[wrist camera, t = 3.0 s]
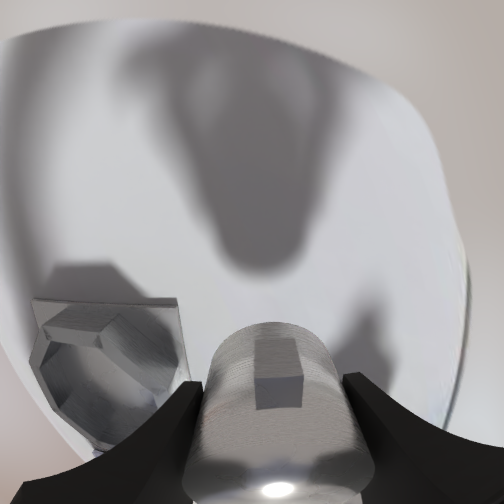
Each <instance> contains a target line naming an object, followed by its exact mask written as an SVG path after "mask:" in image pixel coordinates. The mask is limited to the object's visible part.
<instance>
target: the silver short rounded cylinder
mask: <svg viewBox="0 0 504 504" xmlns="http://www.w3.org/2000/svg"><path fill="white" fill-rule="evenodd" d="M374 471H375V466H374V462H373V459H372V457H371V454H370V452H369V449H368V446H367V444H366V441H365V439H364V436H363V434H362V431H361V429H360V426H359V424H358V421H357V419H356V416H355V414H354V411H353V409H352V407H351V404H350V402H349V399H348V397H347V394H346V392H345V390H344V387H343V385H342V382H341V380H340V378H339V375H338V373H337V371H336V368H335V366H334V364H333V361H332V359H331V357H330V354H329V352H328V350H327V348H326V346H325V345H324V343H323V342H322V341H321V340H320V339H319V338H318V337H317V336H316V335H315V334H313V333H312V332H310V331H308V330H307V329H305V328H302V327H300V326H297V325H293V324H289V323H282V322H266V323H259V324H254V325H251V326H248V327H245V328H243V329H241V330H239V331H237V332H235V333H233V334H232V335H230V336H229V337H228V338H227V339H225V340H224V341H223V342H222V343H221V345H220V346H219V347H218V349H217V350H216V352H215V354H214V356H213V359H212V362H211V366H210V370H209V374H208V378H207V382H206V386H205V390H204V393H203V397H202V401H201V405H200V409H199V413H198V417H197V421H196V425H195V430H194V434H193V438H192V442H191V446H190V450H189V454H188V458H187V462H186V466H185V471H184V475H183V479H182V486H183V488H184V491H185V492H186V494H187V495H188V496H189V497H190V498H191V499H192V500H193V501H195V502H196V503H197V504H343V503H345V502H347V501H348V500H350V499H352V498H353V497H354V496H356V495H357V494H359V493H360V492H361V491H362V490H363V489H364V488H365V487H366V486H367V485H368V484H369V482H370V481H371V479H372V477H373V475H374Z"/></svg>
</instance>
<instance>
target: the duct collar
mask: <svg viewBox="0 0 504 504" xmlns="http://www.w3.org/2000/svg"><path fill="white" fill-rule="evenodd" d="M31 304H32V308H33V311H34V315H35V318H36V321H37V324H38V328H39V333H38V336H37V339H36V341H35V344H34V347H33V350H32V353H31V356H30V359H29V363H30V366H31V368H32V370H33V373H34V375H35V377H36V379H37V381H38V383H39V385H40V387H41V389H42V391H43V393H44V395H45V397H46V399H47V401H48V403H49V405H50V406H51V408H52V410H53V411H54V412H55V413H56V414H58V415H59V416H60V417H61V418H62V419H63V420H64V421H66V422H67V423H68V424H69V425H70V426H72V427H73V428H74V429H75V430H77V431H78V432H79V433H80V434H82V435H83V436H84V437H86V438H87V439H88V440H90V441H91V442H92V443H94V444H95V445H97V446H98V447H100V448H103V449H107V450H110V449H111V448H113V447H114V446H116V445H117V444H119V443H120V442H122V441H123V440H124V439H126V438H127V437H128V436H129V435H131V434H132V433H133V432H134V431H135V430H136V429H138V428H139V427H140V426H141V425H142V424H143V423H144V422H146V421H147V420H148V419H149V418H150V417H151V416H152V415H153V414H154V413H155V412H156V411H157V410H158V409H159V408H160V407H161V406H162V405H163V404H164V403H165V402H166V400H167V399H168V398H169V397H170V396H171V395H172V394H173V393H174V392H175V390H176V389H177V388H178V387H179V386H180V385H181V384H182V383H183V382H184V381H191V378H190V373H189V368H188V363H187V358H186V352H185V347H184V341H183V336H182V330H181V324H180V317H179V311H178V305H130V304H104V303H84V302H69V301H55V300H43V299H32V300H31Z"/></svg>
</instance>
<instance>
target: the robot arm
mask: <svg viewBox="0 0 504 504" xmlns="http://www.w3.org/2000/svg"><path fill="white" fill-rule="evenodd" d="M342 385H343V387H344V390H345V392H346V394H347V397H348V399H349V402H350V404H351V407H352V409H353V411H354V414H355V416H356V419H357V421H358V424H359V426H360V429H361V431H362V434H363V436H364V439H365V441H366V444H367V446H368V449H369V452H370V454H371V457H372V459H373V462H374V466H375V471H374V475H373V477H372V479H371V481H370V482H369V484H368V485H367V486H366V487H365V488H364V489H363V490H362V491H361V492H360V494H361V499H362V504H504V448H503V447H496V446H491V445H486V444H481V443H477V442H474V441H470V440H467V439H464V438H462V437H459V436H456V435H453V434H451V433H449V432H446V431H444V430H442V429H440V428H438V427H436V426H434V425H432V424H430V423H428V422H427V421H425V420H423V419H421V418H420V417H418V416H417V415H415V414H414V413H412V412H410V411H409V410H407V409H406V408H405V407H403V406H402V405H400V404H399V403H398V402H396V401H395V400H394V399H392V398H391V397H390V396H388V395H387V394H386V393H385V392H383V391H382V390H381V389H380V388H378V387H377V386H376V385H375V384H374V383H372V382H371V381H370V380H369V379H368V378H366V377H365V376H364V375H363V374H362V373H360V372H357V373H350V374H344V375H343V381H342ZM203 393H204V392H203V387H202V382H198V381H184V382H183V383H182V384H181V385H180V386H179V387H178V388H177V389H176V390H175V392H174V393H173V394H172V395H171V396H170V397H169V398H168V399H167V400H166V402H165V403H164V404H163V405H162V406H161V407H160V408H159V409H158V410H157V411H156V412H155V413H154V414H153V415H152V416H151V417H150V418H149V419H148V420H147V421H146V422H144V423H143V424H142V425H141V426H140V427H139V428H138V429H136V430H135V431H134V432H133V433H132V434H131V435H129V436H128V437H127V438H126V439H124V440H123V441H122V442H120V443H119V444H117V445H116V446H114V447H113V448H111V449H110V450H108V451H107V452H105V453H103V452H100V451H97V450H93V452H92V453H93V455H94V456H95V458H94V459H92V460H91V461H89V462H87V463H85V464H83V465H80V466H78V467H76V468H73V469H71V470H69V471H66V472H62V473H60V474H57V475H53V476H50V477H45V478H41V479H36V480H32V481H26V482H23V484H22V485H21V487H20V488H19V490H18V492H17V493H16V495H15V496H14V498H13V500H12V501H11V503H10V504H193V500H192V499H191V498H190V497H189V496H188V495H187V494H186V492H185V491H184V488H183V486H182V479H183V475H184V471H185V466H186V462H187V458H188V454H189V450H190V446H191V442H192V438H193V434H194V430H195V425H196V421H197V417H198V413H199V409H200V405H201V401H202V397H203Z"/></svg>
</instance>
